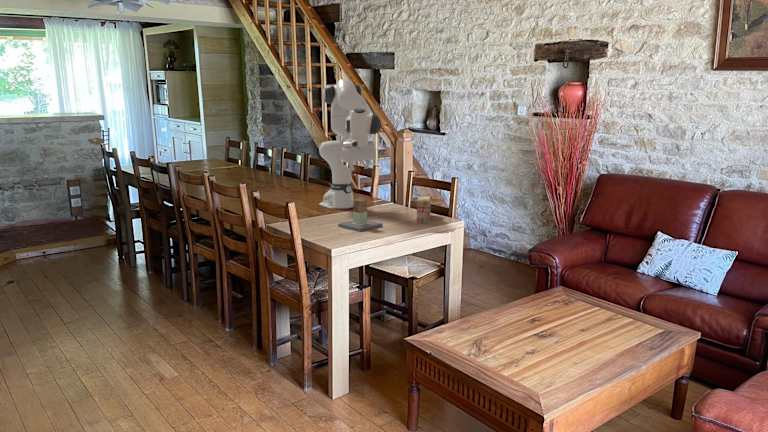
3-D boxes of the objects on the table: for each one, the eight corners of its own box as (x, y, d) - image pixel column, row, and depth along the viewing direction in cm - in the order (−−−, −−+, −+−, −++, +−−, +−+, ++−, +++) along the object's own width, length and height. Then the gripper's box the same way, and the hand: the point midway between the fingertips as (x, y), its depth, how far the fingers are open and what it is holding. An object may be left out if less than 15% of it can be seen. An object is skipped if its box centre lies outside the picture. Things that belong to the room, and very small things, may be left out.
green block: (353, 223, 313) (353, 211, 312) (360, 221, 317) (360, 210, 316) (360, 224, 310) (359, 212, 309) (367, 223, 313) (367, 211, 312)
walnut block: (353, 211, 312) (353, 199, 311) (360, 210, 316) (360, 198, 314) (359, 213, 309) (359, 201, 307) (367, 211, 312) (367, 199, 311)
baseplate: (338, 226, 314) (338, 223, 313) (361, 221, 325) (361, 218, 324) (359, 231, 303) (359, 228, 302) (382, 226, 314) (382, 222, 313)
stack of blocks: (419, 215, 340) (419, 193, 338) (430, 215, 340) (430, 193, 337) (416, 223, 320) (416, 200, 317) (428, 223, 319) (428, 200, 316)
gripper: (370, 140, 314) (370, 167, 317) (339, 143, 300) (340, 171, 303) (378, 141, 309) (378, 168, 312) (348, 144, 295) (348, 172, 298)
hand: (359, 169), depth 307 cm, fingers open, 8 cm apart
